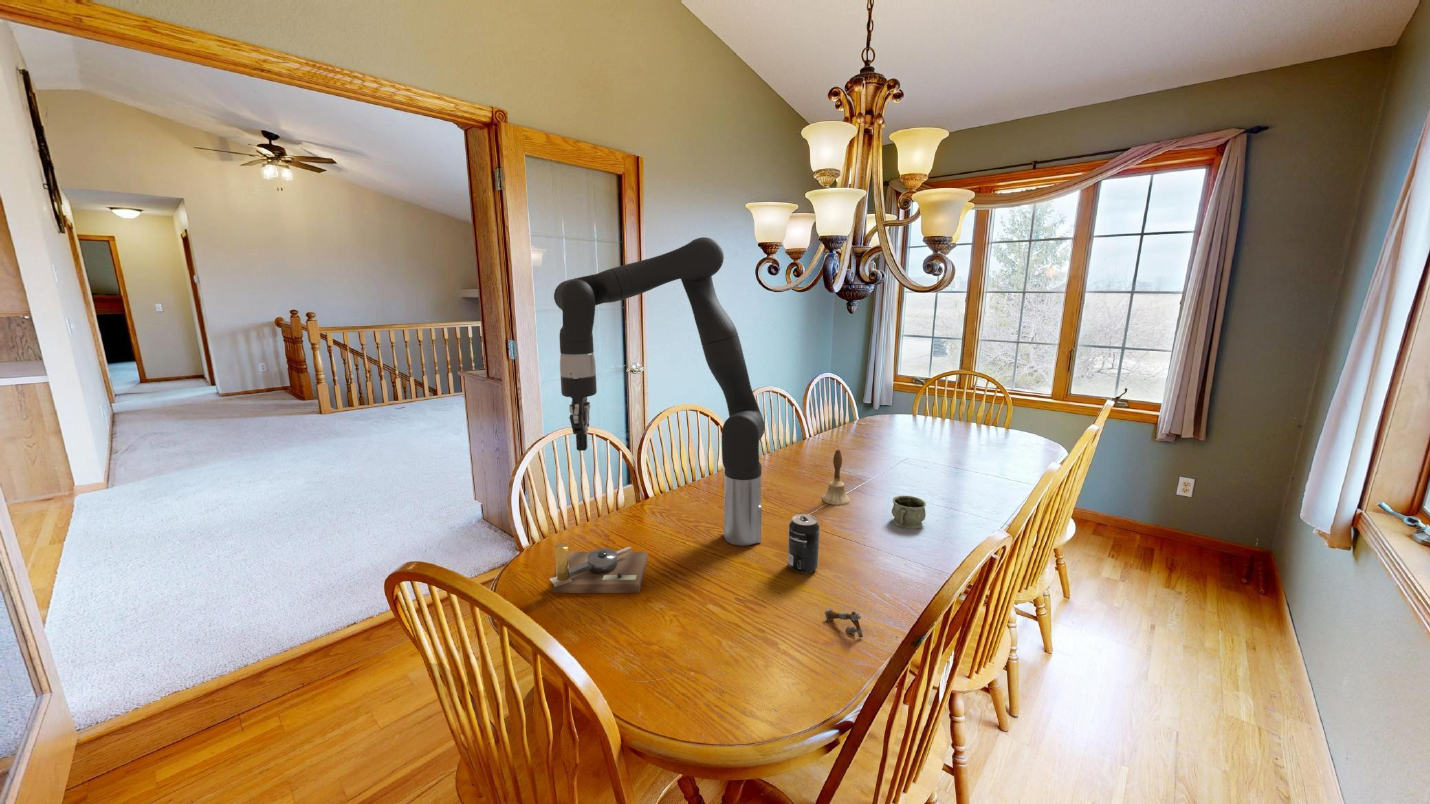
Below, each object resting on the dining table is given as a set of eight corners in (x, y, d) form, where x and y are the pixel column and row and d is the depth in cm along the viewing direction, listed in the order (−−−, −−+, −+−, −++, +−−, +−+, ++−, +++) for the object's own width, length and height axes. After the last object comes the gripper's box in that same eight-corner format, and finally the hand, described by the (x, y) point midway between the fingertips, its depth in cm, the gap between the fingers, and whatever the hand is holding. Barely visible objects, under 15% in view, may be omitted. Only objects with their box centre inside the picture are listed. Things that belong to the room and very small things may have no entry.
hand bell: (850, 506, 154) (853, 454, 151) (821, 504, 156) (824, 452, 152) (849, 496, 162) (852, 446, 159) (822, 493, 164) (824, 444, 160)
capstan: (622, 549, 123) (621, 518, 122) (638, 559, 119) (637, 527, 117) (550, 577, 111) (548, 543, 109) (565, 589, 106) (563, 554, 105)
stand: (647, 559, 123) (647, 547, 123) (638, 595, 109) (638, 582, 108) (565, 559, 123) (564, 547, 122) (545, 595, 108) (544, 582, 108)
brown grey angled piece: (862, 639, 94) (855, 614, 94) (830, 634, 100) (824, 610, 101) (869, 635, 95) (862, 610, 95) (836, 631, 101) (830, 607, 102)
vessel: (899, 511, 151) (901, 491, 149) (931, 519, 145) (933, 498, 144) (883, 525, 141) (885, 504, 140) (916, 535, 136) (918, 512, 135)
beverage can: (808, 558, 124) (810, 511, 121) (823, 572, 118) (825, 523, 115) (782, 563, 122) (783, 515, 119) (796, 578, 115) (798, 527, 113)
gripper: (566, 369, 120) (570, 441, 124) (554, 378, 107) (559, 459, 111) (599, 369, 121) (602, 441, 124) (591, 378, 108) (595, 458, 112)
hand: (582, 449), depth 118 cm, fingers closed
